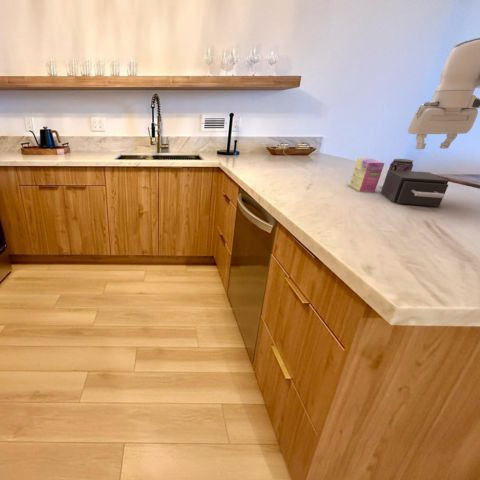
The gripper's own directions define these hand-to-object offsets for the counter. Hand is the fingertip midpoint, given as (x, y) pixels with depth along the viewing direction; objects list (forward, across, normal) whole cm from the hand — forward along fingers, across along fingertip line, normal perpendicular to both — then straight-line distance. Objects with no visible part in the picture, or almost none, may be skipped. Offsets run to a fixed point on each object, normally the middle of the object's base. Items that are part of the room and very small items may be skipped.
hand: (431, 148), depth 94 cm
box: (+19, -3, +19) cm, 27 cm away
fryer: (+18, +2, +4) cm, 19 cm away
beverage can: (+19, +10, +16) cm, 27 cm away
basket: (+18, -1, -1) cm, 18 cm away
